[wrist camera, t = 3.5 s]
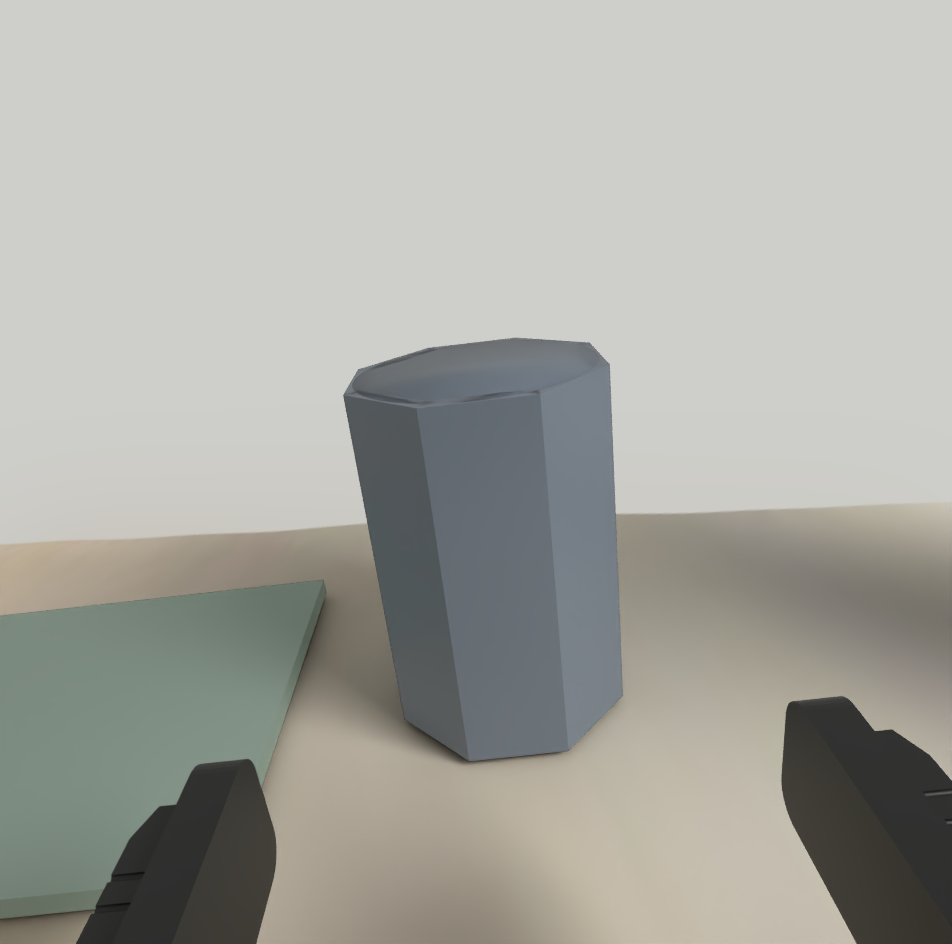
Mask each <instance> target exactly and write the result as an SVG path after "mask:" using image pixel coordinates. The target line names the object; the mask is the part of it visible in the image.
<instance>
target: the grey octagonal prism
mask: <svg viewBox="0 0 952 944" xmlns="http://www.w3.org/2000/svg"><path fill="white" fill-rule="evenodd" d="M343 396H344V402H345V407H346V412H347V417H348V422H349V428H350V433H351V439H352V444H353V449H354V454H355V459H356V465H357V470H358V476H359V481H360V486H361V491H362V496H363V502H364V507H365V512H366V518H367V523H368V528H369V534H370V539H371V544H372V550H373V555H374V560H375V566H376V571H377V576H378V581H379V587H380V592H381V597H382V603H383V608H384V613H385V618H386V624H387V629H388V634H389V640H390V645H391V650H392V655H393V661H394V666H395V671H396V677H397V682H398V687H399V692H400V698H401V703H402V708H403V714H404V719H405V720H406V721H408V722H409V723H411V724H413V725H414V726H416V727H417V728H419V729H420V730H422V731H423V732H425V733H426V734H428V735H430V736H431V737H433V738H434V739H436V740H437V741H439V742H440V743H442V744H443V745H445V746H446V747H448V748H450V749H451V750H453V751H454V752H456V753H457V754H459V755H460V756H462V757H463V758H465V759H467V760H468V761H478V760H487V759H496V758H506V757H515V756H525V755H534V754H544V753H553V752H562V751H569V750H570V749H571V748H572V747H573V746H574V745H575V744H576V743H577V742H578V741H579V740H580V739H581V738H582V737H583V736H584V735H585V733H586V732H587V731H588V730H589V729H590V728H591V727H592V726H593V725H594V724H595V723H596V722H597V721H598V720H599V719H600V718H601V717H602V716H603V715H604V714H605V713H606V712H607V711H608V710H609V709H610V708H611V707H612V706H613V705H614V704H615V703H616V702H617V701H618V700H619V699H620V698H621V697H622V696H623V689H622V664H621V639H620V614H619V588H618V563H617V538H616V513H615V491H614V490H615V489H614V488H615V487H614V463H613V437H612V414H611V413H612V412H611V386H610V364H609V363H608V362H607V361H606V360H605V359H604V358H603V357H602V356H601V355H600V353H599V352H598V351H597V350H596V349H595V348H594V347H593V346H592V345H591V344H590V343H585V342H570V341H556V340H542V339H526V338H510V339H502V340H493V341H485V342H476V343H467V344H459V345H450V346H441V347H433V348H427V349H423V350H421V351H417V352H414V353H411V354H407V355H404V356H401V357H397V358H394V359H391V360H388V361H384V362H381V363H378V364H375V365H372V366H369V367H365V368H362V369H358V371H357V372H356V374H355V376H354V378H353V379H352V381H351V383H350V385H349V386H348V388H347V390H346V391H345V393H344V395H343Z"/></svg>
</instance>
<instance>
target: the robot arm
mask: <svg viewBox="0 0 952 944" xmlns="http://www.w3.org/2000/svg"><path fill="white" fill-rule="evenodd" d="M782 791H783V797H784V801H785V805H786V808H787V811H788V814H789V817H790V819H791V822H792V824H793V826H794V828H795V830H796V832H797V833H798V835H799V837H800V839H801V841H802V843H803V845H804V846H805V848H806V850H807V852H808V854H809V856H810V858H811V859H812V861H813V863H814V865H815V867H816V869H817V871H818V872H819V874H820V876H821V878H822V880H823V882H824V884H825V885H826V887H827V889H828V891H829V893H830V895H831V897H832V898H833V900H834V902H835V904H836V906H837V908H838V910H839V911H840V913H841V915H842V917H843V919H844V921H845V923H846V924H847V926H848V928H849V930H850V932H851V934H852V936H853V937H854V939H855V941H856V943H857V944H952V781H951V780H950V778H949V777H948V776H947V775H946V774H945V772H944V771H943V770H942V769H941V768H940V767H939V765H938V764H937V763H936V762H935V761H934V760H933V758H932V757H931V756H930V755H929V754H927V753H926V752H924V751H923V750H921V749H920V748H918V747H917V746H915V745H914V744H913V743H911V742H910V741H908V740H907V739H905V738H904V737H902V736H901V735H899V734H898V733H896V732H895V731H893V730H883V731H874V730H873V728H872V727H871V726H870V725H869V723H868V722H867V721H866V720H865V718H864V717H863V716H862V714H861V713H860V712H859V711H858V709H857V708H856V707H855V706H854V704H853V703H852V702H851V701H850V700H849V699H847V698H845V697H842V696H839V697H830V698H821V699H811V700H802V701H793V702H790V703H789V705H788V707H787V710H786V721H785V735H784V749H783V763H782ZM275 866H276V838H275V832H274V828H273V825H272V821H271V818H270V815H269V812H268V808H267V805H266V802H265V798H264V795H263V792H262V788H261V785H260V782H259V778H258V775H257V772H256V769H255V766H254V764H253V762H252V761H251V760H250V759H241V760H232V761H222V762H213V763H204V764H198V765H197V766H195V767H194V769H193V770H192V772H191V773H190V775H189V778H188V780H187V782H186V784H185V786H184V788H183V791H182V793H181V795H180V797H179V799H178V801H177V804H175V805H166V806H159V807H158V808H157V809H156V810H155V811H154V813H153V814H152V815H151V816H150V817H149V818H148V819H147V820H146V821H145V822H144V823H143V825H142V826H141V827H140V828H139V829H138V830H137V831H136V832H135V833H134V834H133V835H132V837H131V838H130V839H129V841H128V843H127V845H126V847H125V849H124V851H123V852H122V854H121V856H120V858H119V860H118V862H117V864H116V866H115V868H114V870H113V872H112V874H111V881H110V882H107V884H106V886H105V888H104V890H103V892H102V894H101V896H100V898H99V900H98V902H97V904H96V906H95V907H96V910H95V913H94V914H91V915H90V917H89V919H88V921H87V923H86V925H85V927H84V929H83V931H82V933H81V935H80V937H79V939H78V941H77V943H76V944H256V942H257V938H258V935H259V931H260V927H261V923H262V920H263V916H264V912H265V908H266V905H267V901H268V897H269V893H270V890H271V886H272V882H273V878H274V873H275Z"/></svg>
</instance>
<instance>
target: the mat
mask: <svg viewBox="0 0 952 944" xmlns="http://www.w3.org/2000/svg"><path fill="white" fill-rule="evenodd" d="M325 595H326V589H325V584H324V580H317V581H308V582H299V583H290V584H281V585H272V586H263V587H254V588H245V589H236V590H227V591H218V592H209V593H200V594H191V595H182V596H173V597H164V598H155V599H146V600H137V601H128V602H119V603H110V604H101V605H92V606H83V607H74V608H65V609H56V610H47V611H38V612H29V613H20V614H11V615H2V616H0V919H4V918H14V917H23V916H33V915H43V914H52V913H62V912H72V911H81V910H91V909H96V907H95V906H96V904H97V902H98V900H99V898H100V896H101V894H102V892H103V890H104V888H105V886H106V884H107V882H110V881H111V874H112V872H113V870H114V868H115V866H116V864H117V862H118V860H119V858H120V856H121V854H122V852H123V851H124V849H125V847H126V845H127V843H128V841H129V839H130V838H131V837H132V835H133V834H134V833H135V832H136V831H137V830H138V829H139V828H140V827H141V826H142V825H143V823H144V822H145V821H146V820H147V819H148V818H149V817H150V816H151V815H152V814H153V813H154V811H155V810H156V809H157V808H158V807H159V806H166V805H175V804H177V801H178V799H179V797H180V795H181V793H182V791H183V788H184V786H185V784H186V782H187V780H188V778H189V775H190V773H191V772H192V770H193V769H194V767H195V766H197V765H198V764H204V763H213V762H222V761H232V760H241V759H250V760H251V761H252V762H253V764H254V766H255V769H256V772H257V775H258V778H259V782H260V785H261V788H262V785H263V782H264V779H265V776H266V773H267V770H268V767H269V764H270V761H271V758H272V755H273V752H274V749H275V746H276V743H277V740H278V737H279V734H280V731H281V728H282V725H283V722H284V719H285V716H286V713H287V710H288V707H289V704H290V701H291V698H292V695H293V692H294V689H295V686H296V683H297V680H298V677H299V674H300V671H301V668H302V665H303V662H304V659H305V656H306V652H307V649H308V646H309V643H310V640H311V637H312V634H313V631H314V628H315V625H316V622H317V619H318V616H319V613H320V610H321V607H322V604H323V601H324V598H325Z"/></svg>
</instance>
